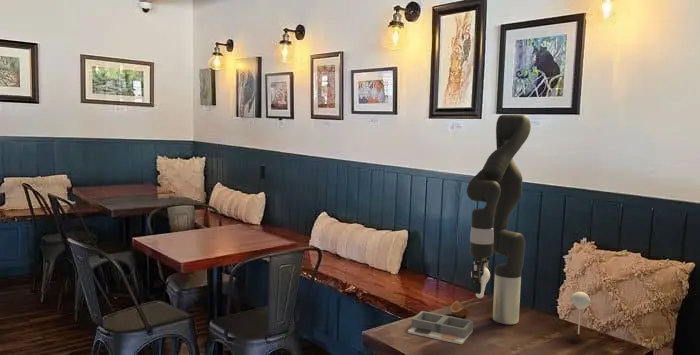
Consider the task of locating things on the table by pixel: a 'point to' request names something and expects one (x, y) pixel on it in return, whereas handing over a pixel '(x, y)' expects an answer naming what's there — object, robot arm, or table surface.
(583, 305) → the lollipop
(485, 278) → the lightbulb
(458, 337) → the socket board
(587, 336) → the table surface
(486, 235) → the robot arm
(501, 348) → the table surface
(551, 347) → the table surface
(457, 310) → the fruit slice
